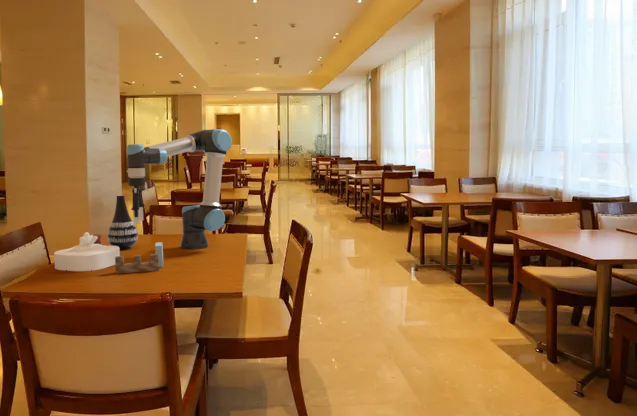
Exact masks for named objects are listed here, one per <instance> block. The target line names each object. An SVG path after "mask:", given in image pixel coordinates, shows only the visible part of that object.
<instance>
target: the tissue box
mask: <svg viewBox="0 0 637 416" xmlns="http://www.w3.org/2000/svg"><path fill="white" fill-rule="evenodd" d="M89 234H90V233H89V232H87V231H86V232H84V233H83V236H80V237H79V239H78V240H79V242H78V243H79V244H76V245H73V247H70V248H65V249H59V250H56V251H55V252H54V253H53V259H54V269H55V270H58V271H66V270H67V271H66V272H69V271H70V272H91V270H92V271H97V270H99V271H100V270H103V269H106V268H108V267H113V266H115V257H116V256H121V251H120V248H119V247H118V246H111V245H104V244H93V243H94V242H95V241H96V240H97V238H98V237H97V236H94V237H93V235H89Z"/></svg>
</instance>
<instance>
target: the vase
mask: <svg viewBox="0 0 637 416" xmlns="http://www.w3.org/2000/svg"><path fill="white" fill-rule="evenodd" d="M115 201H116V202H115V210H114V215H113V217H112V221H111V223H110V226H109V228H108V230H107V235H106V239H107V242H108V243H109V246H118V247H119V248H120V250H128V249H130V248H132V247H134V245H135V244H137V242H138V239H139V233H138V229H137V227H136V226H135V225H136V224H134V221H133V220H132V218H131V216H130V213H129V211H128V208H127V203H126V199H125V195H124V194H118V195H117V194H116V199H115Z"/></svg>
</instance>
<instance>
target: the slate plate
mask: <svg viewBox="0 0 637 416" xmlns="http://www.w3.org/2000/svg"><path fill="white" fill-rule="evenodd" d="M163 246H164V245H163V242H161V241H160V242H155V245H154V254H158V257H159V268H164V249H163V248H164V247H163Z"/></svg>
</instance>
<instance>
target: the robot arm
mask: <svg viewBox="0 0 637 416" xmlns="http://www.w3.org/2000/svg"><path fill="white" fill-rule="evenodd" d="M232 144H233V141H232V136H231V135H230V133H229V132H228V131H227V130H226V129H222V128H213V129H203V130H200V131H199V130H198V131H196V132H192V133H190V134H186V135H185V136H184V137H182V138H178V139H173V140H169V141H166V142H165V141H164V142H161V143H157V144H153V145H148V146H145V147H144V144H141V143H139V144H137V143H131V144H130V143H129V144H127V146H126V161H127V162H126V163H127V170H126V173H127V177H128V180H127V181H128V182H127V183H128V186H130V187H133V188H132V191H131V193H132V206H131V209H130V210H131V211H132V212H133V214H132V215H133V217H132V218H133V224H134V225H140V224H141V221H142V222H143V221H144V207H145V204H144V201H143V188H142V187H143V186H146V178H145V177H146V168H145V166H146V165H163V164H166V163H167V160H168V157H171V156H172V157H173V156H175V155H180V154H184V153H188V152H189V153H195V152H204V155H205V156H206V164H205V174H204V184H203V185H204V187H203V195H202V196H203V197H202V202H200V203H199V204H198V205H197V204H196V205H188V206H183V207H182V209H181V219H182V235H181V240H180V243H179V244H180V246H179V247H180V249H182V250H183V249H184V250H199V249H204V248H205V249H206V248H208V247H209V240H208V238H207V235H206V232H205V231H212V232H214V231H218V230H219V229H221V228H222V227H223V225H224V224H225V221H226V217H225V213H224V211H223V210H222V204H221V203H220V195H221V184H222V174H223V163H224V158H226V156H227V152H228V151H230V150H231V147H232Z"/></svg>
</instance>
